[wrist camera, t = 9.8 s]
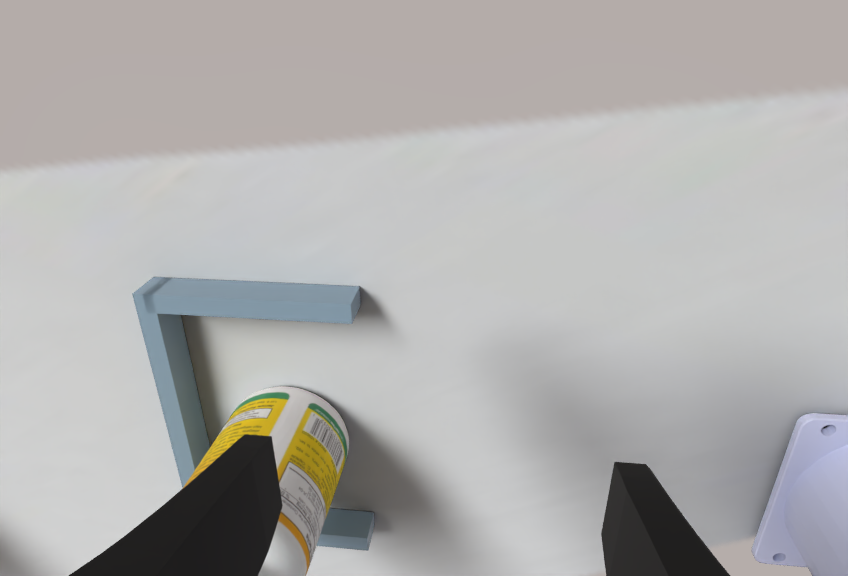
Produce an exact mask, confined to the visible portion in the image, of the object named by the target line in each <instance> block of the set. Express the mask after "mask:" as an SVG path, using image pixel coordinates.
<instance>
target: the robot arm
mask: <svg viewBox="0 0 848 576" xmlns="http://www.w3.org/2000/svg"><path fill="white" fill-rule="evenodd" d="M826 425H829V427H827V428H825V429H822V428H823V427H824V426H826ZM282 506H283V505H282V498H281V492H280V486H279V479H278V473H277V467H276V460H275V454H274V448H273V442H272V436H262V435H249V434H244V435H243V436H242V437H241V438H240V439H239V440H237V441H236V442H235V443H234V444H233V445H232V446H231V447H229V448H228V449H227V450H226V451H225V452H224V453H223V454H221V455H220V456H219V457H218V458H217V459H216V460H215V461H214V462H213V463H211V464H210V465H209V466H208V467H207V468H206V469H205V470H204V471H202V472H201V473H200V474H199V475H198V476H197V477H196V478H195V479H193V480H192V481H191V482H190V483H189V484H188V485H187V486H185V487H184V488H183V489H182V490H181V491H180V492H178V493H177V494H176V495H175V496H174V497H173V498H171V499H170V500H169V501H168V502H167V503H166V504H164V505H163V506H162V507H161V508H160V509H158V510H157V511H156V512H155V513H153V514H152V515H151V516H149V517H148V518H147V519H146V520H144V521H143V522H142V523H141V524H139V525H138V526H137V527H136V528H134V529H133V530H132V531H131V532H129V533H128V534H127V535H126V536H124V537H123V538H122V539H120V540H119V541H118V542H116V543H115V544H114V545H112V546H111V547H109V548H108V549H107V550H105V551H104V552H103V553H101V554H100V555H98V556H97V557H95V558H94V559H93V560H91V561H90V562H88V563H87V564H85V565H84V566H82V567H81V568H79V569H78V570H76V571H75V572H73V573H72V574H71V575H69V576H258V574H259V572H260V570H261V568H262V565H263V563H264V561H265V558H266V556H267V554H268V551H269V548H270V545H271V542H272V539H273V536H274V533H275V530H276V526H277V523H278V520H279V516H280V513H281V510H282ZM601 534H602V543H603V552H604V560H605V568H606V576H730V575H729V574H728V573H727V571H726V570H725V569H724V568H723V566H722V565H721V564H720V563H719V562H718V560H717V559H716V558H715V557H714V556H713V554H712V553H711V551H710V550H709V549H708V548H707V546H706V545H705V544H704V542H703V541H702V540H701V539H700V537H699V536H698V535H697V534H696V532H695V531H694V530H693V528H692V527H691V526H690V524H689V523H688V522H687V520H686V519H685V518H684V516H683V515H682V513H681V512H680V511H679V509H678V508H677V507H676V505H675V504H674V502H673V501H672V500H671V498H670V497H669V495H668V494H667V493H666V491H665V490H664V488H663V487H662V485H661V484H660V483H659V481H658V480H657V478H656V477H655V475H654V474H653V472H652V471H651V469H650V468H649V467H648V466H647V465H646V464H635V463H622V462H615V463H614V468H613V473H612V479H611V484H610V490H609V495H608V501H607V506H606V512H605V517H604V522H603V528H602V533H601ZM752 553H753V556H754V558H755V559H756V560H757V561H758V562H760V563H765V564H776V565H787V566H800V567H808V569H809V570H810V572H811V574H812V576H848V415H836V414H820V413H809V414H806V415H803V416H802V417H800V418H799V419H798V421H797V422H796V425H795V427H794V430H793V433H792V436H791V439H790V442H789V444H788V447H787V450H786V453H785V456H784V459H783V461H782V464H781V467H780V470H779V473H778V476H777V478H776V481H775V484H774V487H773V490H772V493H771V495H770V498H769V501H768V504H767V507H766V510H765V512H764V515H763V518H762V521H761V524H760V527H759V529H758V532H757V535H756V538H755V541H754V544H753V547H752Z"/></svg>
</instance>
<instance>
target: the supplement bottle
mask: <svg viewBox="0 0 848 576" xmlns="http://www.w3.org/2000/svg"><path fill="white" fill-rule="evenodd" d="M244 434H249V435H262V436H272V442H273V448H274V454H275V460H276V467H277V473H278V479H279V486H280V492H281V498H282V505H283V506H282V510H281V513H280V516H279V520H278V523H277V526H276V530H275V533H274V536H273V539H272V542H271V545H270V548H269V551H268V554H267V556H266V558H265V561H264V563H263V565H262V568H261V570H260V572H259V574H258V576H306V574H307V571H308V568H309V565H310V563H311V560H312V557H313V554H314V551H315V548H316V545H317V542H318V539H319V536H320V534H321V530H322V528H323V525H324V522H325V519H326V516H327V513H328V511H329V508H330V505H331V502H332V500H333V497H334V494H335V491H336V488H337V485H338V482H339V479H340V476H341V473H342V470H343V468H344V465H345V461H346V459H347V456H348V451H349V436H348V432H347V429H346V426H345V423H344V421H343V420H342V418H341V416H340V415H339V413H338V412H337V411H336V410H335V409H334V408H333V407H332V406H331V405H330V404H329V403H328V402H326V401H325V400H324V399H322V398H321V397H319V396H317V395H315V394H313V393H311V392H309V391H306V390H303V389H300V388H295V387H287V386H280V387H272V388H266V389H263V390H260V391H257V392H255V393H253V394H251V395H249V396H248V397H246V398H245V399H244V400H243V401H242V402H241V403H240V404H239V405H238V407H237V408H236V409H235V411H234V412H233V414H232V415H231V417H230V418H229V420H228V421H227V423H226V424H225V426H224V427H223V429H222V430H221V432H220V433H219V435H218V436H217V438H216V440H215V441H214V443H213V444H212V446H211V447H210V448H209V450H208V452H207V453H206V454H205V456H204V457H203V459H202V461H201V462H200V463H199V465H198V466H197V468H196V469H195V471H194V472H193V474H192V475H191V477H190V478H189V480H188V481H187V483H186V484H185V486H187V485H188V484H189V483H190V482H191V481H192V480H193V479H195V478H196V477H197V476H198V475H199V474H200V473H201V472H202V471H204V470H205V469H206V468H207V467H208V466H209V465H210V464H211V463H213V462H214V461H215V460H216V459H217V458H218V457H219V456H220V455H221V454H223V453H224V452H225V451H226V450H227V449H228V448H229V447H231V446H232V445H233V444H234V443H235V442H236V441H237V440H239V439H240V438H241V437H242V436H243V435H244ZM185 486H184V487H185ZM184 487H183V488H184Z"/></svg>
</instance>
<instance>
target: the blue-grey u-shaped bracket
mask: <svg viewBox="0 0 848 576" xmlns="http://www.w3.org/2000/svg"><path fill="white" fill-rule="evenodd" d="M133 298H134V302H135V306H136V310H137V314H138V318H139V321H140V325H141V329H142V333H143V337H144V341H145V345H146V348H147V352H148V356H149V360H150V364H151V368H152V372H153V375H154V379H155V383H156V387H157V391H158V395H159V399H160V402H161V406H162V410H163V414H164V418H165V422H166V426H167V429H168V433H169V437H170V441H171V445H172V449H173V453H174V456H175V460H176V464H177V468H178V472H179V476H180V480H181V483H182V487H184V486H185V484H186V483H187V481H188V480H189V478H190V477H191V475H192V474H193V472H194V471H195V469H196V468H197V466H198V465H199V463H200V462H201V461H202V459H203V457H204V456H205V454H206V453H207V452H208V450H209V448H210V445H209V440H208V436H207V431H206V427H205V422H204V418H203V413H202V409H201V404H200V400H199V395H198V391H197V386H196V382H195V377H194V372H193V368H192V363H191V359H190V354H189V350H188V345H187V341H186V336H185V332H184V327H183V323H182V318H181V315H194V316H213V317H232V318H251V319H270V320H289V321H308V322H327V323H346V324H352V323H353V321H354V318H355V316H356V314H357V312H358V310H359V307H360V305H361V302H360V286H339V285H317V284H295V283H273V282H251V281H229V280H208V279H186V278H164V277H153V278H152V279H151V280H149V281H148V282H147V283H145V284H144V285H143V286H142V287H140V288H139V289H138V290H137V291H135V292H134V293H133ZM373 528H374V512H365V511H353V510H342V509H331V508H329V511H328V513H327V516H326V519H325V522H324V525H323V528H322V530H321V534H320V536H319V539H318V542H317V545H316V546H326V547H336V548H347V549H357V550H368V549H369V545H370V541H371V537H372V533H373Z"/></svg>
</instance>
